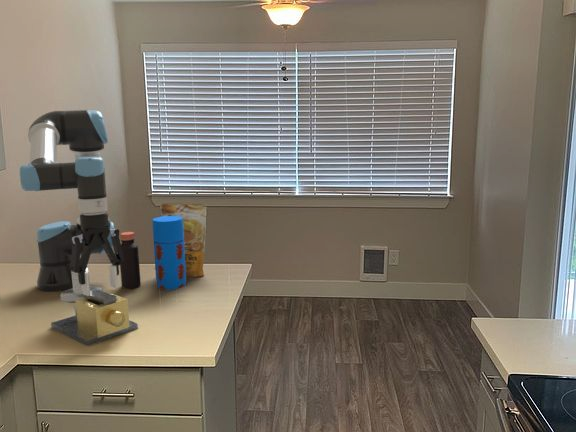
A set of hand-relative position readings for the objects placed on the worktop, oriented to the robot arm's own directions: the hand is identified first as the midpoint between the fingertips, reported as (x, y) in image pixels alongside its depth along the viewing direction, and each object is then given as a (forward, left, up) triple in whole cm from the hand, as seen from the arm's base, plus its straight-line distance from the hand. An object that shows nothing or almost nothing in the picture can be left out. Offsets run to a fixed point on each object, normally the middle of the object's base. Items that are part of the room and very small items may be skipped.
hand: (100, 290), depth 157 cm
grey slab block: (0, 0, -11) cm, 11 cm away
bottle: (-32, +30, -13) cm, 46 cm away
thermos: (-21, +40, -13) cm, 47 cm away
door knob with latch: (-5, 0, -13) cm, 14 cm away
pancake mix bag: (-28, +52, -13) cm, 60 cm away
